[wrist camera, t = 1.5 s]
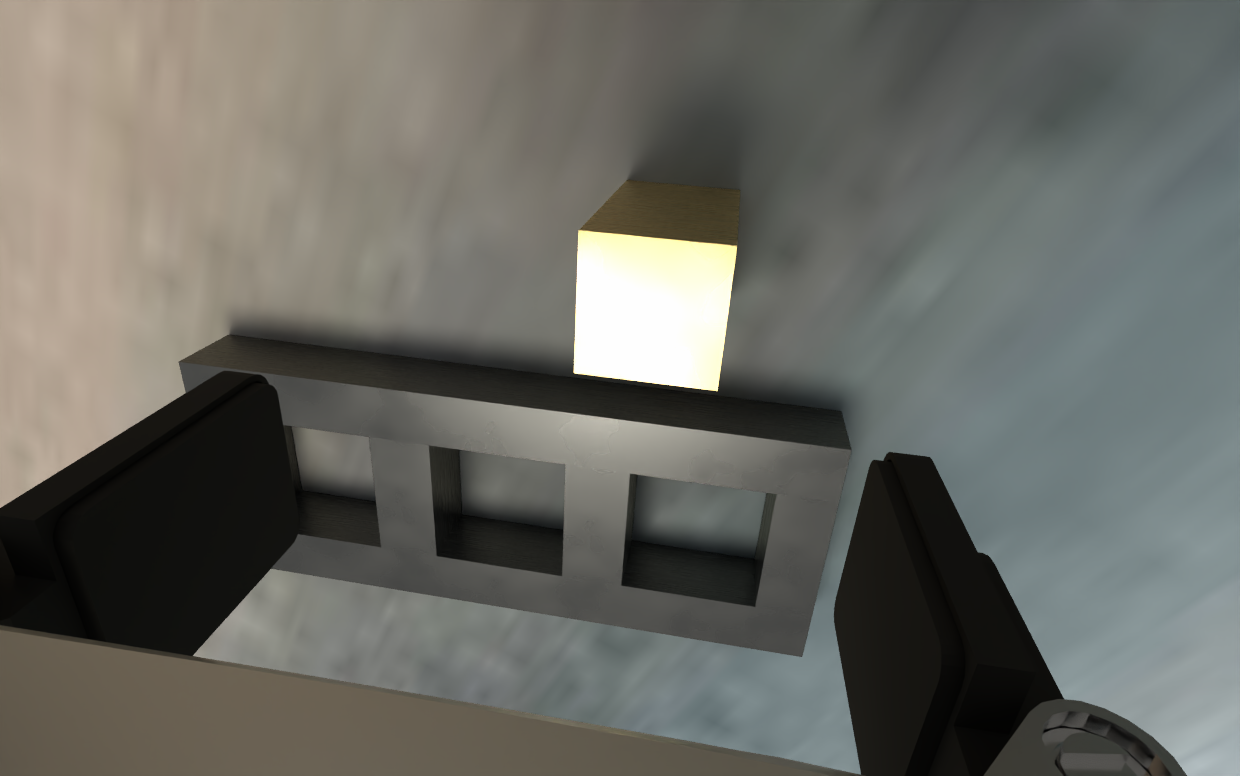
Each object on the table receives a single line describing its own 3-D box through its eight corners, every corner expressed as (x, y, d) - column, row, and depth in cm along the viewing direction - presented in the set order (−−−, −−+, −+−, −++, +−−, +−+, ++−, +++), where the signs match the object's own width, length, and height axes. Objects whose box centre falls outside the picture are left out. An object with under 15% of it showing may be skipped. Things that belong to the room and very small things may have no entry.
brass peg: (740, 190, 24) (737, 245, 17) (725, 299, 26) (717, 390, 19) (627, 179, 25) (579, 230, 18) (620, 287, 27) (573, 373, 20)
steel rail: (841, 411, 27) (851, 450, 25) (797, 606, 32) (802, 656, 29) (228, 334, 30) (178, 361, 28) (265, 522, 35) (225, 561, 32)
